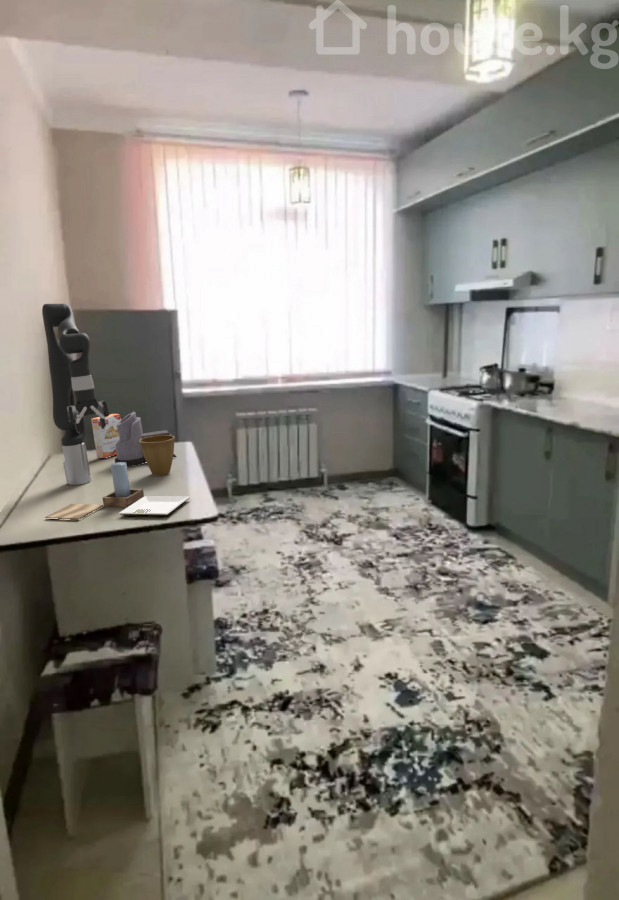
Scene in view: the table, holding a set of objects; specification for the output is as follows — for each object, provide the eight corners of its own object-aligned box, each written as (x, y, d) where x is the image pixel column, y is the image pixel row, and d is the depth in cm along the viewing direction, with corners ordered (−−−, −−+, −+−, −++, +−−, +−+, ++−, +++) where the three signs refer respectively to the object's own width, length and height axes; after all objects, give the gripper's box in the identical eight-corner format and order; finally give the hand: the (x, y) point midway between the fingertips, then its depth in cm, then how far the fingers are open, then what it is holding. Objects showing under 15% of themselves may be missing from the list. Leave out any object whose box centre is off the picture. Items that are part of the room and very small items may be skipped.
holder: (103, 506, 212) (102, 497, 211) (120, 497, 222) (119, 488, 221) (128, 507, 209) (127, 498, 208) (144, 498, 219) (143, 489, 218)
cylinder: (113, 504, 214) (107, 466, 210) (122, 499, 219) (116, 462, 215) (126, 504, 212) (120, 466, 209) (135, 500, 217) (129, 462, 214)
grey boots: (114, 469, 266) (106, 418, 261) (111, 462, 281) (103, 413, 275) (178, 458, 278) (172, 409, 272) (172, 452, 292) (165, 405, 287)
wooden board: (45, 519, 202) (44, 517, 202) (71, 506, 215) (71, 503, 215) (78, 521, 198) (78, 518, 198) (103, 507, 211) (102, 504, 211)
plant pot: (149, 480, 243) (144, 444, 239) (140, 473, 255) (135, 438, 252) (183, 473, 250) (178, 438, 246) (173, 467, 263) (168, 433, 259)
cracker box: (104, 459, 287) (98, 418, 282) (96, 458, 291) (90, 418, 286) (126, 452, 299) (120, 413, 294) (118, 452, 302) (112, 413, 297)
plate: (190, 501, 212) (190, 495, 211) (167, 519, 194) (167, 513, 194) (145, 500, 216) (144, 495, 216) (118, 518, 199) (117, 513, 198)
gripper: (66, 391, 205) (74, 435, 209) (105, 385, 213) (113, 428, 217) (61, 390, 211) (69, 433, 215) (100, 384, 219) (107, 426, 223)
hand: (91, 430), depth 216 cm, fingers open, 8 cm apart
